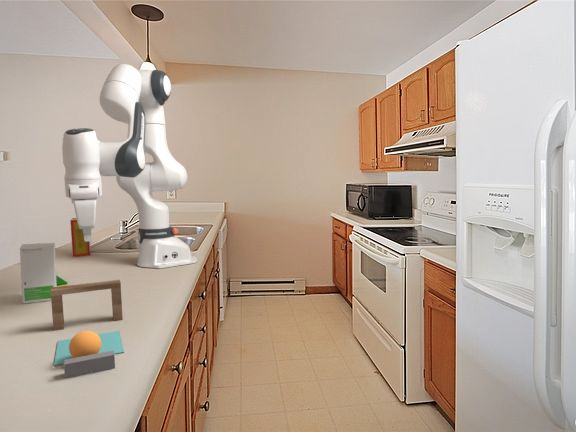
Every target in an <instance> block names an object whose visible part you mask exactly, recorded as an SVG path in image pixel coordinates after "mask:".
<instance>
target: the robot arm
mask: <svg viewBox="0 0 576 432" xmlns="http://www.w3.org/2000/svg"><path fill="white" fill-rule="evenodd" d="M171 92H172V84H171V79H170V77H169V76H168V75H167V73H166V72H165V71H163V70H158V69H153V70H152V69H150V70H149V69H137V68H135V67H134V66H133V65H131V64H128V63H120V64H116V65H115V66H114V67H113V68H112V69H111V70H110V71H109V73H108V75H107V77H106V79H105V81H104V83H103V85H102V88H101V90H100V92H99V103H100V104H99V105H100V107H101V108H102V111H103V112H104V113H105V114H106V115H107V116H108V117H110V118H111V119H113V120H114V121H117V122H121V123H123V124H127V125H128V126H127V138H126V139H125V140H122V141H118V142H114V141H113V142H111V141H109V142H106V141H105V142H103V141H101V140H99V139H98V137H97V133H96V130H95V129H92V128H88V127H87V128H86V127H85V128H83V127H81V128H71V129H68V130H65V132H64V133H63V135H62V147H61V150H62V151H61V152H62V163H63V166H64V168H65V172H64V173H65V174H64V179H63V180H64V189H65V197H66V198H68V199H70V200H71V203H72V204H73V208H74V211H75V218H77V223H78V226H79V229H83V234H84V241H86V242H87V241H90V242H91V241H92V239H93V238H92V230H93V229H94V228H96V221H97V220H96V218H97V217H96V216H97V203H98V202H99V197H102V196H103V194H104V193H103V184H102V177H115V179H116V182H117V185H118V187H119V188H120V189H122V191H124V192H125V193H127V194H128V196H130V198H131V199H133V201H134V203H135V205H136V208H137V213H138V223H139V225H138V226H139V228H138V232H137V233H138V243H139V249H138V258H137V261H136V266H137V267H141V268H153V269H164V268H171V267H177V266H184V265H185V266H186V265H191V264H196V263H197V262H198V259H197V257H196V256H194V255H192V252H191V249H190V246H189V245H188V244H187V243H186V242H184V240H182V239H180V238H178V237H177V236H176V235H177V234H179V230H178V229H177V228H175V227H172V226H171V224H170V209H169V207H168V205H167V204H166V203H164V202H163V201H161V200H158V199H157V198H155V197H154V196H153V192H173V191H177V190H179V191H180V190H182V189H184V188H185V186H186V184H187V182H188V172H187V170H186V168H185V166H184V165H183V164H181V163H180V162H179V161H177V160H176V159H175V158H174V156H173V155H172V153H171V151H170V149H169V146H168V145H169V144H168V141H167V140H168V139H167V138H168V137H167V130H166V127H167V126H166V115H165V109H164V104H165V103H166V102H167V101H168V100H169V98H170V96H171V94H172V93H171ZM145 153H146V154H148V155H150V156H151V157H152V159H153V161H152V162H146V154H145Z"/></svg>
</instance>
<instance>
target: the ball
mask: <svg viewBox="0 0 576 432" xmlns="http://www.w3.org/2000/svg"><path fill="white" fill-rule="evenodd" d="M97 334H98V333H96V332H94V331H93V330H83V331H82V330H81V331H80V332H78V333H76V334H75V335H74V336H73V337H72V338H71V339H72V340H71V341H70V344H69V352H70V354H71V356H72V357H73V358H77V357H82V356H87V355H93V354H98V353H99V351H100V349H101V339H100V337H99V336H98V335H97Z"/></svg>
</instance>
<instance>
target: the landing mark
mask: <svg viewBox="0 0 576 432" xmlns="http://www.w3.org/2000/svg"><path fill="white" fill-rule="evenodd" d="M96 334H97V335H98V336H99V337H100V339H101V349H100V351H99V353H103V352H109V351H114V356H115V355H119V354H124V353H125V349H124V346H123V342H122V340H123V339H122V336H121V333H120V330H115V331H108V332H104V333H96ZM71 340H72V338H67V339H63V340H58V341H57V342H56V343H57V344H56V350H55V356H54V363H53V366H54V367H58V366H64V360H66V359H71V358H73V357H72V356H71V354H70V352H69V344H70V341H71Z"/></svg>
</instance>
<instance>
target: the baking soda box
mask: <svg viewBox="0 0 576 432" xmlns="http://www.w3.org/2000/svg"><path fill="white" fill-rule="evenodd" d="M70 234H71V237H70V238H71V249H72V258H79V257H87V256H88V257H89V256H91V252H92V250H91V248H92V247H91V241H87V242H86V241H84V234H83V229H79V226H78V223H77V218H76V217H72V218H71V219H70Z"/></svg>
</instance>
